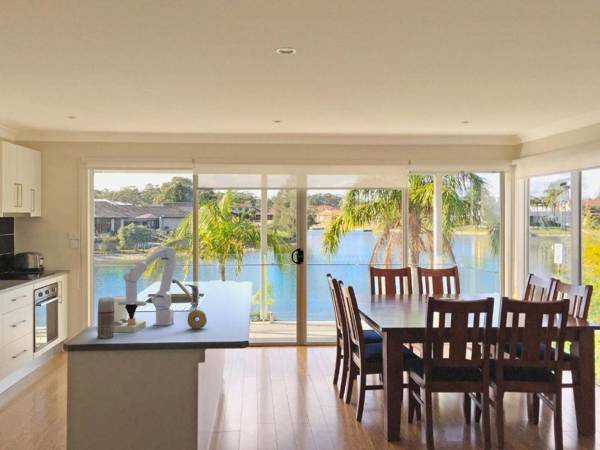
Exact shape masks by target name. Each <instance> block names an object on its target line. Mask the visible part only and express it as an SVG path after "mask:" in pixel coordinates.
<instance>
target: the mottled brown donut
mask: <svg viewBox="0 0 600 450" xmlns="http://www.w3.org/2000/svg"><path fill="white" fill-rule="evenodd" d="M196 318H198V320H196ZM207 322H208V319H207V314H206V313H205V312H204V311H202V310H200V309H194V310H192V311H190V312H188V315H187V325H188V327H190V328H192V329H196V330H197V329H202V328H204V327H205V326H206V324H207Z"/></svg>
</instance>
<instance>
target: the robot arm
mask: <svg viewBox="0 0 600 450" xmlns="http://www.w3.org/2000/svg"><path fill="white" fill-rule="evenodd" d="M158 259H160V260H162V261H163V262H164V267H163V271H162V277H161V282H160V287H159V291H157V292H156V293H155V296H154V298H153V300H152V304H153V307H155V308H154V309H155V323H153V326H171V325H172V324H174V323H175V322H174V319H175V318H174V317H175V316H174V315H175V314H174V313H175V312H174V309H173V308H170V307H171V305H172V302H173V301H172V297H173V296H172V295H171V293H170V290H171V286H172V280H173V276H174V271H175V265H176V262H177V261H176V250H175V249H174V247H173V246H163V245H159V246H158V247H156V248H155V249H154V250H153V252H152V253H151V254H150V255H148V257H147V258H146V259H145V260H143V261H138V262H136V265H135V266H133V267H131V268H130V270H127V271H125V273H124V275H123V277H122V279H123V280H124V283H125V297H126V301H118V305H126V306H125V308H126V310H127V315H128V317H129V318H130V319H133V318H135V315H136V314H135V313H136V310H137V309H138V306H146V301H145V300H144V301H143V300H138V281H139V279H140V276H141V275H143V274H144V273H145V272H146V271H147V270H148V267H149V266H151V264H153V263H154V262H156V260H158Z"/></svg>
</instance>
